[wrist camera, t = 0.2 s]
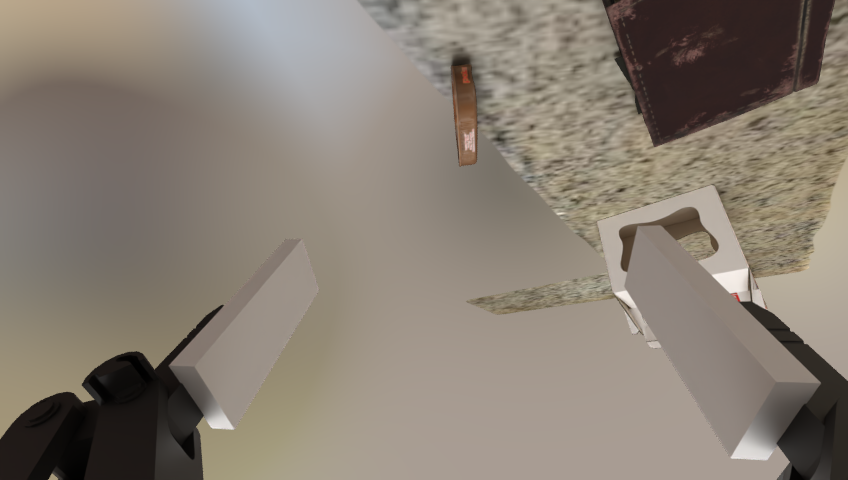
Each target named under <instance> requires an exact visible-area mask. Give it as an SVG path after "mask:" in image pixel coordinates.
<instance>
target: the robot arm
mask: <svg viewBox="0 0 848 480" xmlns="http://www.w3.org/2000/svg"><path fill="white" fill-rule="evenodd" d="M624 287H625V289H626V290H627V292H628V294H629V295H630V297H631V298H632V300H633V302H634V303H635V305H636V306H637V308H638V310H639V311H640V313H641V315H642V316H643V318H644V319H645V321H646V323H647V324H648V326H649V327H650V329H651V331H652V332H653V334H654V336H655V337H656V339H657V340H658V342H659V344H660V345H661V347H662V348H663V350H664V352H665V353H666V355H667V357H668V358H669V360H670V361H671V363H672V365H673V366H674V368H675V370H676V371H677V373H678V374H679V376H680V378H681V379H682V381H683V382H684V384H685V386H686V387H687V389H688V391H689V392H690V394H691V395H692V397H693V399H694V400H695V402H696V403H697V405H698V407H699V408H700V410H701V412H702V413H703V415H704V416H705V418H706V420H707V421H708V423H709V424H710V426H711V428H712V429H713V431H714V433H715V434H716V436H717V437H718V439H719V441H720V442H721V444H722V446H723V447H724V449H725V450H726V452H727V454H728V455H729V457H730V458H737V459H753V460H767V459H768V458H769V457H770V455H771V454H772V452H773V451H774V450H775V448H776V447H777V445H778V446H779V448H780V449H781V450H782V452H783V453H784V454H785V456H786V457H787V458H788V460H789V461H790V463H789V464H788V466H787V467H786V468H785V470H784V471H783V472H782V473H781V475H780V476H779V477H778V479H777V480H848V381H847V380H846V379H845V378H844V377H843V376H841V375H840V374H839V373H838V372H837V371H836V370H835V369H833V367H832V366H831V365H829V364H828V363H827V362H826V361H825V360H824V359H823V358H822V357H821V356H819V355H818V354H817V353H816V352H815V351H814V350H813V349H812V348H811V347H809V345H807V344H804V342H803V340H802V339H801V338H800V337H799V336H798V335H796V334H795V333H794V332H791V331H790V328H789V327H788V326H786V325H785V324H784V323H783V322H782V321H781V320H780V319H779V318H778V317H776V316H775V315H774V314H773V313H771V312H769V311H768V310H766V309H764V308H762V307H761V306H759V305H757V304H755V303H754V302H752V301H737V300H736V299H735V298H734V297H733V296H732V295H731V294H730V293H729V292H728V291H727V290H726V289H725V288H724V287H723V286H722V285H721V284H720V283H719V282H718V281H717V280H716V279H715V278H714V277H713V276H712V275H711V274H710V273H709V272H708V271H707V270H706V269H705V268H704V267H703V266H702V265H701V264H699V263H698V262H697V261H696V260H695V259H694V258H693V257H692V256H691V255H690V254H689V253H688V252H687V251H686V250H685V249H684V248H683V247H682V246H681V245H680V244H679V243H678V242H677V241H676V240H675V239H674V238H673V237H672V236H671V235H670V234H669V233H668V232H667V231H666V230H665V229H664V228H663V227H662V226H661V225H656V226H638V227H637V231H636V236H635V240H634V245H633V249H632V254H631V258H630V262H629V267H628V271H627V276H626V280H625V285H624ZM318 291H319V288H318V285H317V282H316V279H315V276H314V273H313V270H312V267H311V263H310V260H309V257H308V254H307V251H306V248H305V245H304V242H303V239H286V240H284V242H283V243H282V244H281V245H280V246H279V247H278V248H277V249H276V250H275V251H274V252H273V254H272V255H271V256H270V257H269V258H268V259H267V260H266V261H265V262H264V263H263V264H262V265H261V266H260V268H259V269H258V270H257V271H256V272H255V273H254V274H253V275H252V276H251V277H250V278H249V280H248V281H247V282H246V283H245V284H244V285H243V286H242V287H241V288H240V289H239V290H238V291H237V292H236V294H235V295H234V296H233V297H232V298H231V299H230V300H229V301H228V302H227V303H226V304H225V305H221V306H219V307H218V308H217V309H215V310H213V311H212V312H211V313H209V314H208V315H206V317H204V319H203V320H202V321H201V322H200V323H199V324H198V325H197V326H196V329H193V330H192V331H191V332H190V333H189V334H188V335H187V338H185V339H183V341H182V342H181V343H180V344H179V345H178V346H177V347H176V348H175V349H174V350H173V351H172V352H171V353H170V354H169V355H168V356H167V357H166V358H165V359H164V360H163V361H162V362H161V363H160V364H159V366H158V367H157V368H156V369H155V370H154V368H153V367H152V366H151V364H150V363H149V361H148V360H147V359H146V357H145V356H144V355H143V354H142V353H140V352H137V351H136V352H127V353H124V354H121V355H117V356H115V357H113V358H111V359H109V360H108V361H105V362H104V363H102V364H101V365H100V366H98V367H97V368H95V369H94V370H93V371H92V372H91V373H90V374H89V375H88V376H87V377H86V378H85V380H84V382H83V383H82V386H83V387H84V388H85V389H86V390H87V392H88V393H89V394H90V395H91V396H92V397H93V398H94V399H95V400H92V401H88V402H84V403H83V402H82V401H81V400H79V398H78V397H77V396H76V395H75V394H74V393H71V392H63V393H58V394H55V395H53V396H50V397H48V398H45V399H43V400H41V401H39V402H37V403H36V404H34V405H32V406H31V407H30V408H29V409H28V410H26V411H25V412H24V413H22V414H21V415H20V416H19V417H18V418H17V419H16V420H15V421H14V422H13V423H12V425H11V426H10V427H9V428H8V430H7V431H6V432H5V434H4V435H3V437H2V438H1V439H0V480H48V479H49V477H50V475H51V474H52V473H53V474H54V475H55V476H56V477H57V478H58V480H203V468H202V455H201V441H200V433H199V431H198V429H197V428H196V426H197V424H198V423H199V422H200V420H201V419H202V417H203V416H204V418H205V419H206V421H207V422H208V423H209V425H210V426H211V428H215V429H235V428H236V427H237V425H238V423H239V422H240V420H241V418H242V417H243V415H244V413H245V412H246V410H247V408H248V407H249V405H250V403H251V402H252V400H253V398H254V397H255V395H256V393H257V392H258V390H259V389H260V387H261V385H262V384H263V382H264V380H265V379H266V377H267V375H268V374H269V372H270V370H271V369H272V367H273V365H274V364H275V362H276V360H277V359H278V357H279V356H280V354H281V352H282V350H283V349H284V347H285V345H286V344H287V342H288V341H289V339H290V337H291V336H292V334H293V332H294V331H295V329H296V327H297V326H298V324H299V322H300V321H301V319H302V317H303V316H304V314H305V313H306V311H307V309H308V308H309V306H310V304H311V303H312V301H313V299H314V298H315V296H316V294H317V292H318Z"/></svg>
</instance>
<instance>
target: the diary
mask: <svg viewBox="0 0 848 480" xmlns="http://www.w3.org/2000/svg"><path fill="white" fill-rule="evenodd" d="M602 1H603V4H604V7H605V9H606V12H607V15H608V18H609V21H610V24H611V27H612V30H613V33H614V35H615V38H616V41H617V44H618V47H619V50H620V53H621V55H622V56H621V57H618V58H616V59H615V61H616V62H617V64H618V66H619V67H620V69H621V71H622V72H623V74H624V76H625V77H626V79H627V80H628V82H629V83H630V85H631V86H632V88H633V89H634V91H635V93H636V94H635V103H636V107H637V111H638V114H640V113H642V114H643V118H644V121H645V124H646V126H647V128H648V130H649V133H650V136H651V139H652V142H653V145H654V147H657V146H659V145H662V144H665V143H667V142H670V141H673V140H676V139H678V138H681V137H684V136H686V135H689V134H692V133H695V132H697V131H700V130H702V129H705V128H708V127H710V126H713V125H716V124H718V123H721V122H724V121H726V120H729V119H731V118H734V117H736V116H739V115H741V114H744V113H746V112H748V111H751V110H753V109H756V108H758V107H760V106H763V105H765V104H768V103H770V102H772V101H775V100H777V99H780V98H782V97H784V96H787V95H789V94H791V93H792V92H793V91H795V92H797V91H799V90H802V89H804V88H807V87H810V86H812V85H815V84H817V83H818V81H819V77H820V71H821V65H822V59H823V53H824V47H825V41H826V36H827V32H828V28H829V24H830V20H831V16H832V11H833V7H834V3H835V0H602Z"/></svg>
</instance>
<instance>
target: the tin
mask: <svg viewBox="0 0 848 480" xmlns="http://www.w3.org/2000/svg"><path fill="white" fill-rule="evenodd" d="M471 70H472V66H471V65H469V64H467V65H459V66H451V75H452V91H453V105H454V119H455V130H456V140H457V149H458V159H459V166H464V165H472V164H475V163H476V162H477V103H476V91H475V85H474V82H473V79H472V72H471Z"/></svg>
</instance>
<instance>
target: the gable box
mask: <svg viewBox="0 0 848 480" xmlns="http://www.w3.org/2000/svg"><path fill="white" fill-rule="evenodd" d="M597 225H598V229H599V234H600V238H601V243H602V247H603V251H604V256H605V260H606V265H607V268H608V273H609V278H610V282H611V287H612V291H613V294H614V295H615V297H616V298H617V300H618V301H619V303H620V304H621V306H622V307H623V308H624V312H625V315H626V318H627V321H628V323H629V327H630V329H631V332H632V334H637V333H638V332H640V333H641V334H642V335H644V336H645V338H646V341H647V343H648V345H649V346H650V347H652V348H655V349H656V348H662V347H661V345H660V344H659V342H658V340H657V339H656V337H655V336H654V334H653V332H652V331H651V329H650V327H649V326H648V325H647V324H646V323H645V322H644V320H643V316H642V315H641V313H640V311H639V310H638V308H637V306H636V305H635V303H634V302H633V300H632V298H631V297H630V295H629V294H628V292H627V290H626V289H625V287H624V285H625V280H626V276H627V271H628V267H629V262H630V258H631V254H632V249H633V245H634V240H635V236H636V231H637V227H638V226H656V225H661V226H662V227H663V228H664V229H665V230H666V231H667V232H668V233H669V234H670V235H671V236H672V237H673V238H674V239H675V240H678V239H681V238H683V237H685V236H687V235H689V234H692V233H695V232H700V231H704V232H707V233H708V234H709V236H710V240H711V245H712V247H713V248H714V250H715V251H716V253H715V254H714V255H713V256H711V257H709V258H706V259H703V260H699V261H697V262H698V263H699V264H701V265H702V266H703V267H704V268H705V269H706V270H707V271H708V272H709V273H710V274H711V275H712V276H713V277H714V278H715V279H716V280H717V281H718V282H719V283H720V284H721V285H722V286H723V287H724V288H725V289H726V290H727V291H728V292H729V293H730V294H735V293H737V294H738V296H739V299H740V301H752V302H754V303H755V304H757V305H759V306H761V307H762V308H764V309H766V308H765V305H764V301H763V298H762V295H761V292H760V289H757V290H756V285H755V282H754V279H753V276H752V273H751V271H750V268H749V265H748V263H747V261H746V258H745V256H744V254H743V251H742V249H741V246H740V244H739V242H738V239H737V237H736V235H735V232H734V230H733V228H732V225H731V223H730V221H729V218H728V216H727V213H726V211H725V209H724V206H723V204H722V202H721V199H720V197H719V195H718V192H717V190H716V188H715V185H709V186H706V187H703V188H700V189H697V190H693V191H690V192H687V193H684V194H681V195H678V196H675V197H671V198H668V199H665V200H662V201H659V202H656V203H652V204H649V205H646V206H643V207H640V208H637V209H634V210H630V211H627V212H624V213H621V214H618V215H615V216H612V217H608V218H605V219H602V220H599V221H597Z"/></svg>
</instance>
